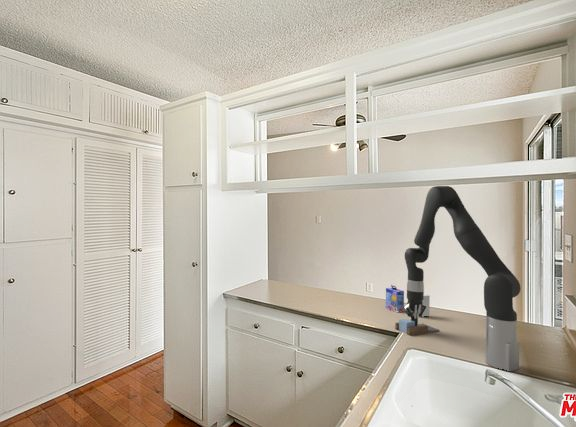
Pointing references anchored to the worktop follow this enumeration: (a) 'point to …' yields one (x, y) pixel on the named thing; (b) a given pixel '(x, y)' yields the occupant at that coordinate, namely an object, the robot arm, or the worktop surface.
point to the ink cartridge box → (394, 299)
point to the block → (405, 324)
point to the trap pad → (429, 328)
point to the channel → (414, 329)
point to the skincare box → (426, 304)
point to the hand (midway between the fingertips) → (414, 325)
